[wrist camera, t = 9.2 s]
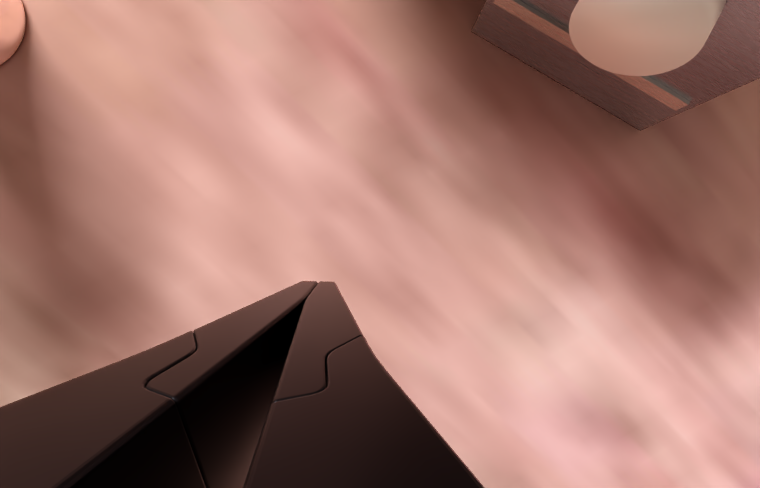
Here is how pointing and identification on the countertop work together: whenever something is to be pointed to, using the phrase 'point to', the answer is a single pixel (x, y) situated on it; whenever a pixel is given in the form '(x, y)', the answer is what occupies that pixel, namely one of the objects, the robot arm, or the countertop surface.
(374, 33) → the countertop surface
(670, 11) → the knob
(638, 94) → the mount
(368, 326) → the countertop surface
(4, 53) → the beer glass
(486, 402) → the countertop surface
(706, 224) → the countertop surface
